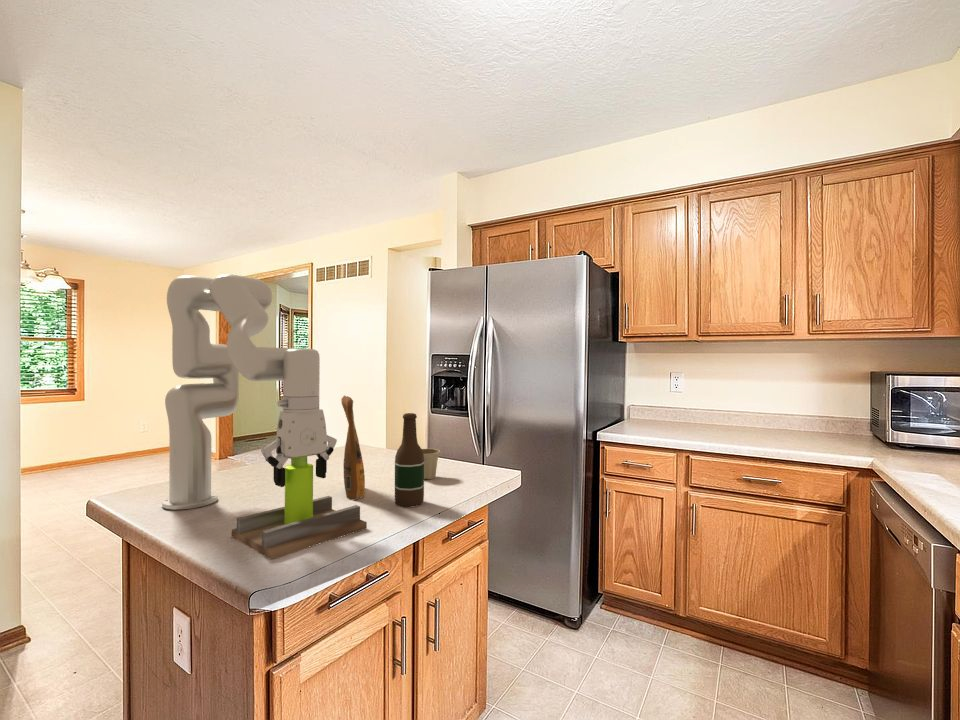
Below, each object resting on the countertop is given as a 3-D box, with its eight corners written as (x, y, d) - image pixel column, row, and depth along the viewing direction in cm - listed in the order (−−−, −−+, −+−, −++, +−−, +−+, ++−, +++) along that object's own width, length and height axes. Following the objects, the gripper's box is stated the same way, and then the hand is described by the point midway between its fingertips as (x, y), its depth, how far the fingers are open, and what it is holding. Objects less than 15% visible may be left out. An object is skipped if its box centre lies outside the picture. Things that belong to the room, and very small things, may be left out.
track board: (231, 536, 102) (231, 515, 102) (323, 511, 119) (323, 493, 119) (271, 559, 90) (271, 535, 90) (366, 528, 107) (366, 508, 107)
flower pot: (407, 480, 150) (407, 453, 150) (416, 473, 159) (416, 448, 159) (435, 481, 148) (436, 454, 148) (443, 474, 158) (443, 449, 158)
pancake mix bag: (339, 503, 126) (340, 398, 126) (340, 485, 144) (341, 393, 144) (365, 501, 127) (366, 398, 128) (363, 483, 146) (364, 393, 146)
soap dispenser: (307, 531, 101) (308, 437, 101) (278, 528, 102) (279, 436, 102) (322, 521, 107) (322, 433, 107) (294, 519, 108) (295, 432, 108)
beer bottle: (411, 509, 121) (411, 415, 121) (388, 504, 125) (388, 414, 125) (429, 501, 127) (430, 413, 127) (407, 497, 131) (408, 411, 131)
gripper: (271, 408, 95) (270, 492, 95) (344, 402, 109) (344, 476, 109) (254, 405, 100) (253, 486, 100) (326, 400, 113) (326, 471, 113)
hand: (301, 481), depth 104 cm, fingers open, 9 cm apart
